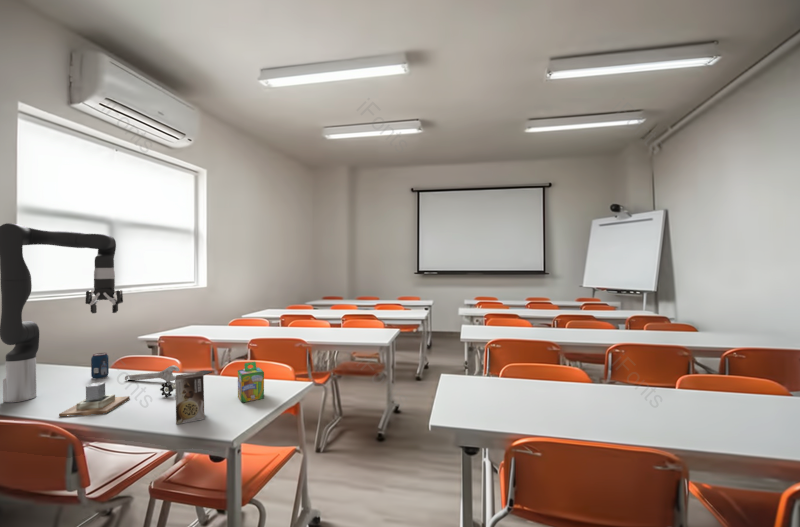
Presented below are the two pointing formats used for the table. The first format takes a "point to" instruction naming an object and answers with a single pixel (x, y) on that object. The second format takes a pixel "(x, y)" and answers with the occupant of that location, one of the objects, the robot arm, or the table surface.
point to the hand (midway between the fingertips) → (104, 313)
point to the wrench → (156, 375)
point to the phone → (206, 372)
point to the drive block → (95, 392)
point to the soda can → (99, 366)
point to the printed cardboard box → (189, 397)
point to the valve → (167, 389)
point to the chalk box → (250, 383)
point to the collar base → (95, 406)
